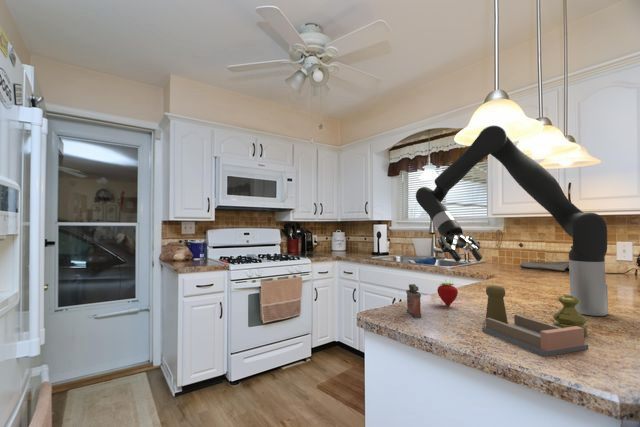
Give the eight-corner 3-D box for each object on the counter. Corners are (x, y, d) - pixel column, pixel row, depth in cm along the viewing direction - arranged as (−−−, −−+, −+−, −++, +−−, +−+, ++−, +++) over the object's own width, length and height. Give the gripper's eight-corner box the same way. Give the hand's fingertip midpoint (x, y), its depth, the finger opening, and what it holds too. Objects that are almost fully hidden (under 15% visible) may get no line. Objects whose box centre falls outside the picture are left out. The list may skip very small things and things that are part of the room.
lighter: (404, 311, 109) (404, 282, 110) (414, 311, 110) (413, 282, 110) (413, 318, 101) (412, 287, 102) (423, 318, 102) (422, 286, 102)
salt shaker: (582, 329, 89) (580, 293, 89) (591, 338, 82) (590, 299, 83) (550, 326, 92) (549, 291, 92) (557, 334, 85) (555, 297, 86)
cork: (511, 326, 93) (510, 288, 93) (488, 325, 94) (487, 287, 94) (503, 320, 99) (502, 284, 99) (482, 319, 100) (481, 283, 100)
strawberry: (451, 309, 111) (451, 280, 112) (433, 305, 118) (433, 277, 118) (462, 306, 115) (461, 279, 115) (443, 302, 121) (443, 276, 121)
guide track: (521, 326, 93) (520, 308, 93) (588, 348, 75) (587, 327, 76) (482, 331, 89) (481, 313, 89) (543, 356, 72) (542, 333, 72)
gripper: (434, 218, 115) (457, 253, 103) (467, 219, 119) (492, 252, 107) (426, 233, 120) (446, 267, 108) (458, 232, 124) (481, 266, 112)
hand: (469, 260), depth 108 cm, fingers open, 8 cm apart
